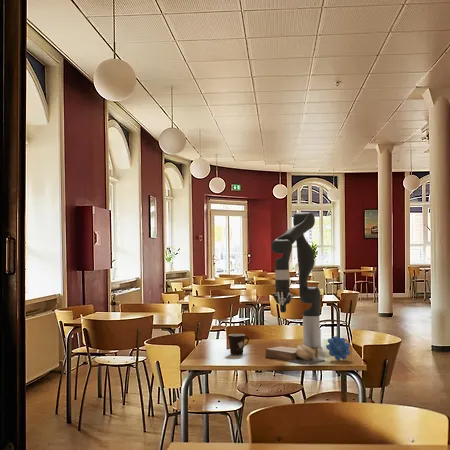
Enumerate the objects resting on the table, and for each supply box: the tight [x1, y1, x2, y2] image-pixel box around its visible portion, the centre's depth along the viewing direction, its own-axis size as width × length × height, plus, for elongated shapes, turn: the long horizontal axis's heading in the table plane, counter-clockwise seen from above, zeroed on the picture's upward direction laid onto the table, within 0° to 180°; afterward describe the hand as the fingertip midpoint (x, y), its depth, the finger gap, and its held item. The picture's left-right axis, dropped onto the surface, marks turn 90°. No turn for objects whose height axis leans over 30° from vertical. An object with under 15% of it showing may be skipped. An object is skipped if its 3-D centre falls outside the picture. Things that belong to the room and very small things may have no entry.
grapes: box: [326, 335, 351, 361], centre depth 309 cm, size 12×7×12 cm, turn 82°
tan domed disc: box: [296, 344, 316, 360], centre depth 308 cm, size 9×9×3 cm
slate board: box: [289, 357, 326, 365], centre depth 306 cm, size 13×11×1 cm
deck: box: [265, 345, 300, 362], centre depth 318 cm, size 12×18×4 cm, turn 42°
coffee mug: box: [228, 333, 250, 356], centre depth 329 cm, size 12×9×10 cm
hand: (283, 312), depth 324 cm, fingers closed
